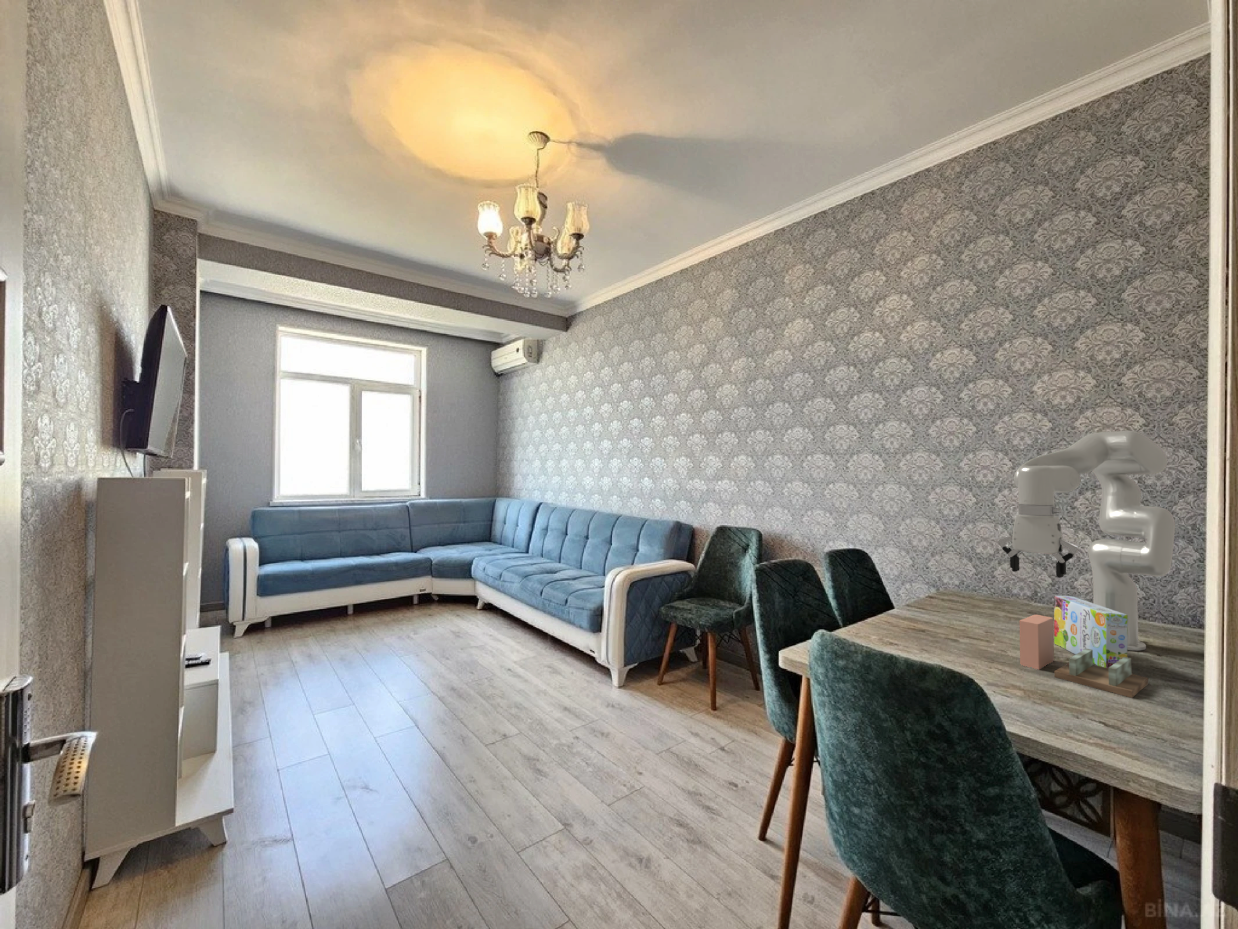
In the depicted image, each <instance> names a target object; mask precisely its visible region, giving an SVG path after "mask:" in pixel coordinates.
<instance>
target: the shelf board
mask: <svg viewBox="0 0 1238 929" xmlns="http://www.w3.org/2000/svg"><path fill="white" fill-rule="evenodd" d="M1053 674H1054V678H1056V679H1061V680H1064V681H1068V682H1072V683H1075V684H1079V685H1083V686H1085V687H1086V686H1087V687H1091V688H1092V689H1093V688H1094V689H1098V690H1102V691H1104V692H1105V691H1106V692H1109V693H1112V692H1113V694H1116V695H1120V696H1124V697H1128V698H1132V699H1133V698H1134V697H1135V696H1136V695H1137V694H1139V693H1140V692H1141V691H1142V690H1143V689H1144V688H1145V687H1147V686H1148V685H1149V677H1146V676H1143V675H1142V676H1141V675H1138V674H1134V673H1132V658H1131V657H1128V656H1127V657H1124V658H1122V659H1121V660H1119V661H1118V662H1116V663H1115V664H1113V665H1112V666H1110V667H1109V668H1105V667H1101V666H1097V665H1096V664H1094V663H1093V650H1091V649H1087V648H1086V649H1085V650H1083V651H1081V652H1079V653H1078V654H1074V655H1073V656H1071V657H1069V658H1068V663H1066V664H1064V665H1062V666H1061V667H1059V668H1057V669H1056V670H1054V671H1053Z"/></svg>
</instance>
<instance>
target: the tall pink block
mask: <svg viewBox="0 0 1238 929" xmlns="http://www.w3.org/2000/svg"><path fill="white" fill-rule="evenodd" d="M1053 661H1054V662H1055V645H1054V617H1052V616H1051V617H1050V616H1045V615H1042V614H1041V615H1040V614H1037V613H1036V614H1033V615H1030V616H1028V617H1025V618H1021V619H1020V620H1019V662H1020V663H1019V664H1021V665H1020V666H1022V665H1023V667H1026V666H1027V667H1026V668H1030V667H1032V668H1031V669H1033V668H1034V670H1037V669H1038V670H1037V671H1039V670H1041V669H1043V668H1045V667H1047V666H1048V665H1050V664H1051V662H1052V663H1054V662H1053ZM1049 663H1050V664H1049ZM1047 664H1048V665H1047ZM1046 665H1047V666H1046ZM1044 666H1045V667H1044ZM1042 667H1043V668H1042Z"/></svg>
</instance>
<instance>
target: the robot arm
mask: <svg viewBox="0 0 1238 929" xmlns="http://www.w3.org/2000/svg"><path fill="white" fill-rule="evenodd" d="M1167 465H1168V456H1167V454H1166V452H1165V450H1164V449H1163V448H1162V446H1160V445H1158V444H1157V443H1156V442H1155V441H1154V440H1152V439H1151V438H1149V437H1148V436H1146V435H1145V434H1143V433H1141V432H1138V431H1134V430H1116V431H1115V430H1114V431H1099V432H1093V433H1088V434H1086V435H1084V436H1083V437H1081V438H1080V439H1079V440H1077V441H1076V442H1074V443H1073V444H1071V445H1070V446H1068V447H1067V448H1065V449H1060V450H1057V451H1054V452H1050V453H1046V454H1043V455H1039V456H1037V457H1036V456H1035V457H1033V458H1031V459H1029V460H1027V461H1026V462H1025V463H1023V464H1021V465H1020V466H1019V467H1018V468H1017V470H1016V471H1015V472H1014V475H1013V476H1014V477H1013V483H1014V485H1015V486H1016V488H1017V490H1018V493H1017V494H1018V495H1017V496H1018V500H1017V502H1018V514H1017V515H1015V517H1014V523H1013V530H1012V535H1010V536H1007V537H1003V538H1001V539H998V540H997V541H998V544H999V545H1000V547H1001V548H1002V549H1001V550H1003V552H1004V553H1006V554H1007V556H1008V558H1009V567H1010V568H1011V571H1012V573H1013V572H1015V573H1016V572H1018V571H1020V557H1019V554H1020V553H1021V552H1022V553H1023V552H1024V553H1033V554H1043V555H1052V556H1053V557H1054V558H1055V559H1056V560H1057V562H1055V569H1056V570H1055V572H1056V574H1055V576H1056V578H1059V579H1061V578H1063V577H1064V576H1065V575H1067V562H1068V561H1069V560H1071V559H1073V558H1074V557H1075V556H1076V555H1077V553H1078V551H1079V550H1080V547H1079V546H1078V545H1076V544H1074V543H1072V542H1069V541H1067V540H1065V539H1063V531H1062V526H1061V522H1060V518H1059V516H1058V517H1057V516H1056V514H1062V508H1061V507H1056V505H1055V494H1056V493H1057V494H1058V493H1059V494H1063V493H1070V492H1073V491H1075V490H1077V488H1079V486H1080V484H1081V483H1082V477H1081V475H1084V474H1088V473H1091V472H1093V474H1094V476H1095V478H1096V479H1097V481H1098V482H1099V484H1100V487H1101V498H1100V499H1101V500H1100V506H1099V518H1098V524H1099V528H1100V530H1101V531H1102V533H1105V534H1107V535H1111V536H1119V537H1129V538H1139V539H1140V538H1141V539H1146V542H1144V541H1143V542H1142V541H1135V540H1134V541H1132V540H1127V539H1126V540H1124V539H1113V538H1102V539H1097V540H1093V541H1092V542H1090V544H1089V545H1088V548H1087V549H1088V550H1087V555H1088V558H1089V559H1088V560H1089V563H1090V566H1091V572H1092V574H1091V575H1092V585H1093V586H1092V589H1093V590H1092V592H1093V593H1092V594H1093V595H1092V597H1093V602H1092V603H1094V604H1097V605H1100V606H1103V607H1106V608H1109V609H1111V610H1114V611H1117V612H1120V613H1123V614H1126V615H1128V631H1127V651H1145V650H1146V649H1147V645H1146V644H1145V643H1144V642H1143V641H1140V640H1139V616H1138V615H1139V612H1138V610H1139V609H1138V607H1139V606H1138V605H1139V604H1138V588H1137V586H1136V583H1135V582H1134V581H1133V579H1132V578H1131V577H1130V575H1129V574H1132V575H1133V574H1134V575H1140V576H1141V575H1142V576H1148V577H1149V576H1150V577H1163V576H1166V575H1167V574H1169V572H1170V570H1171V567H1172V561H1173V553H1174V544H1175V543H1174V542H1175V534H1176V533H1175V532H1176V523H1175V519H1174V516H1173V514H1172V512H1171V511H1169V510H1168V509H1167V508H1164V507H1162V506H1161V507H1160V506H1151V505H1141V497H1142V490H1141V488H1140V486H1139V485H1138V484H1137V483H1136V482H1135V481H1134V480H1133V479H1132V478H1131V477H1130V476H1128V475H1157V474H1159V473H1162V472H1163V471H1164V470H1165V469H1166V467H1167ZM1009 542H1011V544H1012V548H1011V547H1009V545H1008V543H1009ZM1064 547H1065V548H1068V550H1069V551H1068V552H1067V553H1066V554H1064V553H1063V552H1064Z"/></svg>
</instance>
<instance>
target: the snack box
mask: <svg viewBox="0 0 1238 929" xmlns="http://www.w3.org/2000/svg"><path fill="white" fill-rule="evenodd" d="M1053 597H1054V598H1053V599H1054V600H1053V606H1054V608H1053V612H1054V613H1053V630H1054V644H1055V645H1056V646H1058V647H1060V646H1061V647H1060V648H1062V649H1063V650H1066V651H1068V652H1070V653H1072V654H1074V655H1076V654H1078V653H1079V652H1081V651H1083V650H1085V649H1086V648H1087V649H1091V650H1093V665H1097V666H1101V667H1105V668H1109V667H1110V666H1112V665H1113V664H1115V663H1116V662H1118V661H1119V660H1121V659H1122V658H1124V657H1127V658H1128V650H1127V631H1128V615H1126V614H1123V613H1120V612H1117V611H1114V610H1111V609H1109V608H1106V607H1103V606H1100V605H1097V604H1094V603H1093V602H1092V601H1087V600H1085V599H1082V598H1079V597H1077V596H1076V597H1075V596H1073V595H1071V596H1070V595H1054V596H1053Z"/></svg>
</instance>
